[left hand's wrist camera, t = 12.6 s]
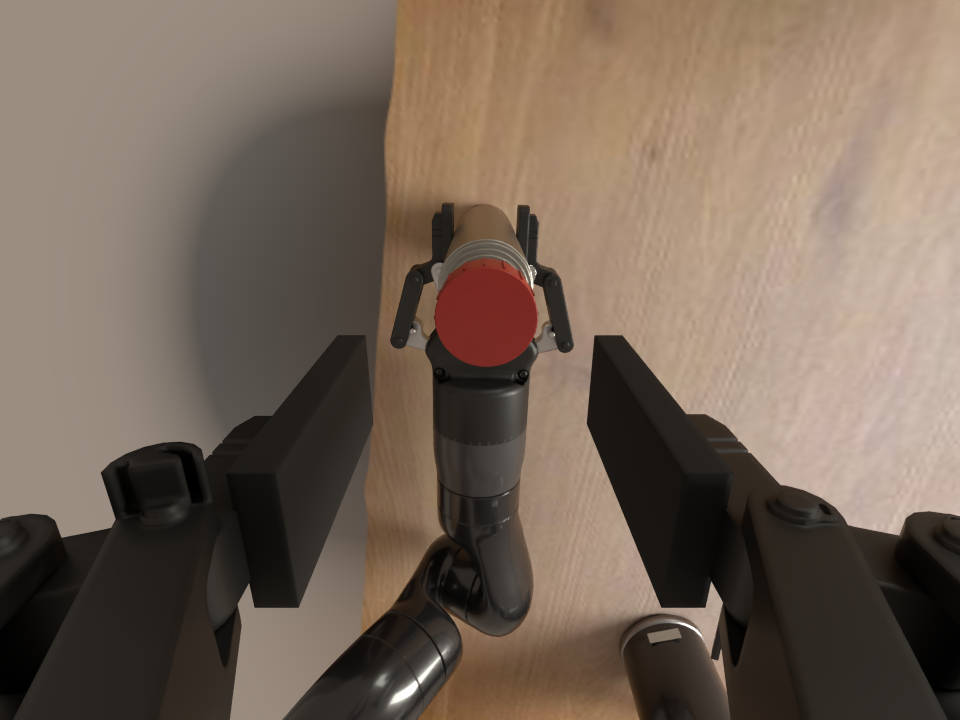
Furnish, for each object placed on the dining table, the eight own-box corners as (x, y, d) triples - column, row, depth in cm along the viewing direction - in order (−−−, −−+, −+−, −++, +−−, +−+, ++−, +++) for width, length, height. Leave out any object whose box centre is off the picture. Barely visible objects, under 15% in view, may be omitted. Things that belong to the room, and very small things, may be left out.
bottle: (522, 223, 41) (567, 297, 19) (493, 271, 43) (504, 389, 21) (475, 193, 40) (465, 234, 19) (446, 242, 42) (406, 334, 20)
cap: (552, 290, 21) (559, 302, 19) (500, 366, 22) (502, 384, 20) (469, 238, 20) (468, 246, 18) (420, 320, 21) (414, 335, 20)
